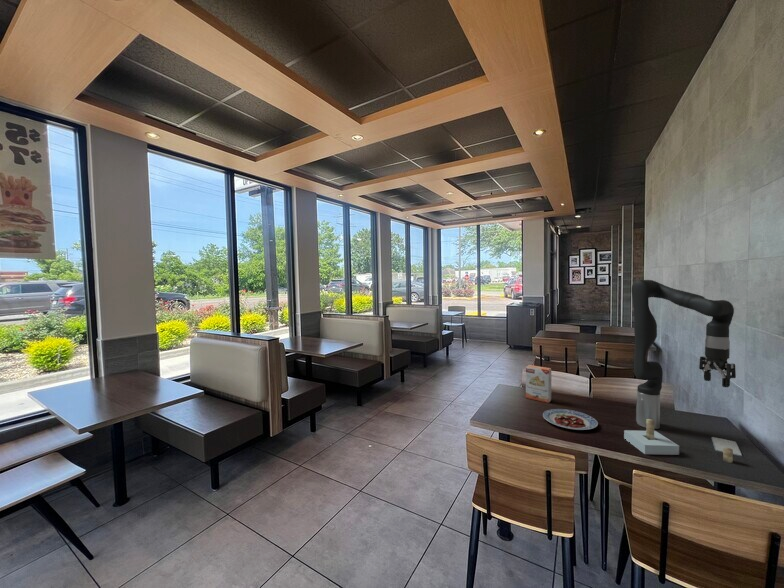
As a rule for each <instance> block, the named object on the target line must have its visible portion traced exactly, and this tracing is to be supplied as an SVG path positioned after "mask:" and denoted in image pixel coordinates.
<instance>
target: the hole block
mask: <svg viewBox="0 0 784 588" xmlns="http://www.w3.org/2000/svg"><path fill="white" fill-rule="evenodd" d="M623 433H624V434H623V439H624V440H625V439H626V440H625V441H627V442H628V443H629V442H630V443H629V444H630V445H632V446H633V447H635V448H636V449H637V450H639V451H640V452H641V453H642V454H644V455H663V456H664V455H667V456H668V455H669V456H670V455H671V456H674V455H675V456H676V455H678V456H679V455H680V445H679V444H677V443H675V442H674V441H672V440H670V439H669V438H667V437H666V436H664V435H663V434H661V433H660V432H658V431H656V430H654V440H648V439H647V438H646V430H632V429H631V430H628V429H625V430H623Z"/></svg>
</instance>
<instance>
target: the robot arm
mask: <svg viewBox="0 0 784 588" xmlns="http://www.w3.org/2000/svg"><path fill="white" fill-rule="evenodd" d="M631 297H632V304H633V317H634V320H633V321H634V323H633V324H634V355H633V356H634V358H633V373H634V374H633V375H635V378H637V379H638V380H645V382H643V383H641V384H638V385H637V388H636V389H637V390H636V391H637V393H636V394H637V395H636V396H637V399H636V401H637V402H636V404H635V407H636V408H635V413H636V414H635V422H636V423H637V425H638V426H641V427H643V428H646V419H652V420H654V430H657V429H658V430H659V429H660V426H661V417H660V416H661V391H662V388H663V387H662V385H663V378H664V377H663V373H664V372H663V368H662V365H661V364H660V363H659V362H657V361H650V360H649V361H647V355H648V352H649V349H650V348H651V347H652V345H653V344H654V343H655V342H656V339H657V338H658V326H657V325H658V324H657V321H656V319H655V316H654V315H653V314H652V312H651V311H652V310H650V307H649V306H650V304H649V299H650V298H656V299H664V300H666V301H669V302H671V303H673V304H675V305H677V306H679V307H683V308H686V309H689V310H692V311H695V312H697V313H699V314H702V315H704V316H707V317H711V318H712V319H711V320H710V322H707V323H706V327H705V329H706V330H705V339H704V356H699V365H698V366H699V367H698V369H699V370H702V372H703V380H704V381H705V382H706V381H707V382H710V381H711V379H712V371H713V370H715V371H717V373H719V374H720V375H721V377H722V378H721V387H723V388H729V387H730V385H731V379H736V375H737V374H736V364H735V363H730V362H729V363H728V360H730V348H731V345H730V343H731V342H730V327H731V323H732V322H733V321H732V320H733V317H734V313H735V309H734V308H735V307H734V305H733V304H732V303H731V302H730V301H729V300H726V299H720V300H719V299H717V300H715V299H714V300H713V299H707V298H706V297H705V296H703V295H699V294H696V293H692V292H689V291H684V290H680V289H676V288H673V287H670V286H667V285H664V284H662V283H661V282H658V281H656V280H652V279H637V280H635V281H634V282H633V283H632V285H631Z"/></svg>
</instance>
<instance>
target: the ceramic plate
mask: <svg viewBox="0 0 784 588" xmlns="http://www.w3.org/2000/svg"><path fill="white" fill-rule="evenodd" d="M542 417H543V419H544V420H546V421H547V422H549V423H550V424H552V425H555V426H557V427H561V428H563V429H564V428H565V429H568V430H569V429H570V430H576V431H584V430H585V431H586V430H593V429H596V428H597V427H598V425H599V422H598V420H596V419H595V418H594V417H593V416H590V415H589V414H586V413H584V412H581V411H577V410H572V409H565V408H554V409H553V408H552V409H548V410H545V411H543V413H542Z"/></svg>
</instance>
